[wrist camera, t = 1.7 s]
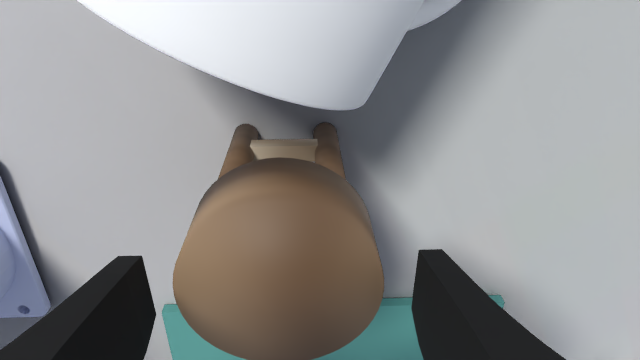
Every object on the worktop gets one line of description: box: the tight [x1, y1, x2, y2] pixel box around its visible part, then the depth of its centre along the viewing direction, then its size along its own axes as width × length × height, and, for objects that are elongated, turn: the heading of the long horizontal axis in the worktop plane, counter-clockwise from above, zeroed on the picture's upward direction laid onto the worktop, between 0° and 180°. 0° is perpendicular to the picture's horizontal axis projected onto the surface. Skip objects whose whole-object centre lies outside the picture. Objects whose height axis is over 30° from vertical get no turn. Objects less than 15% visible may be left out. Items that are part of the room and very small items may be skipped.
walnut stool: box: [173, 123, 384, 360], centre depth 14 cm, size 5×5×7 cm
